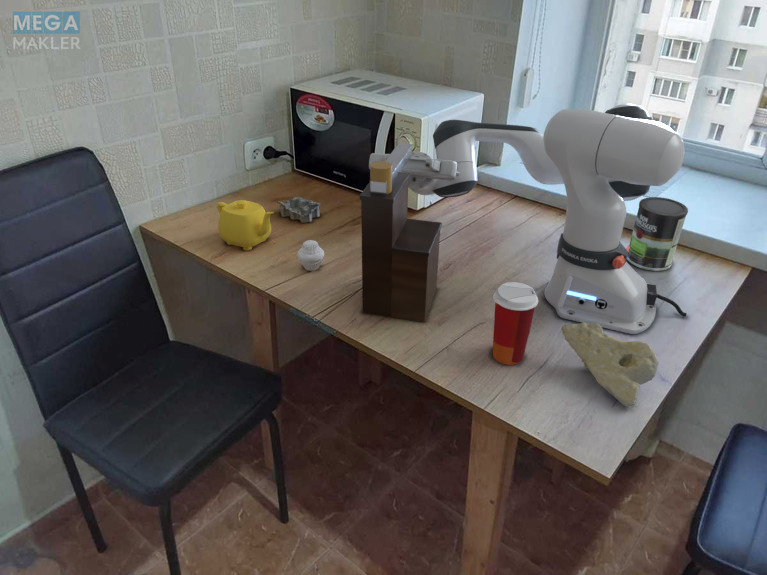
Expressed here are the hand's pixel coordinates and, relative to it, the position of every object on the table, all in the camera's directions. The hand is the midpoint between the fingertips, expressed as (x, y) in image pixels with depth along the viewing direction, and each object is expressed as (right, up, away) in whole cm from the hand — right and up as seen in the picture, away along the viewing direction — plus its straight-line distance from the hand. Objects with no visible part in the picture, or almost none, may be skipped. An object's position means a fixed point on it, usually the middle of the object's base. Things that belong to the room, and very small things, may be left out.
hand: (407, 160), depth 133 cm
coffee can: (+58, -21, +12) cm, 63 cm away
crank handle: (-3, -5, -12) cm, 14 cm away
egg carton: (-28, -8, +32) cm, 43 cm away
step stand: (-2, -30, -4) cm, 31 cm away
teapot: (-39, -17, +18) cm, 46 cm away
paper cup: (+18, -41, -20) cm, 48 cm away
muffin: (-22, -23, +8) cm, 33 cm away
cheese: (+33, -44, -25) cm, 60 cm away
